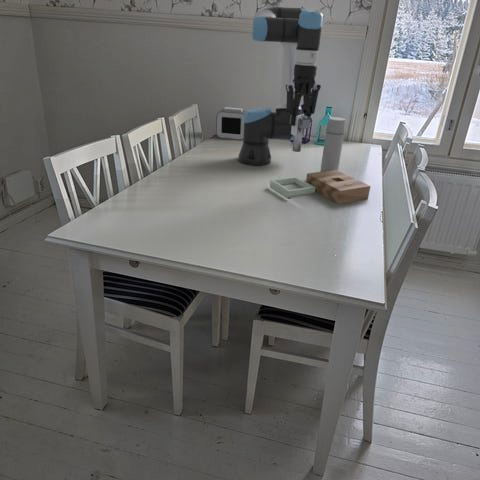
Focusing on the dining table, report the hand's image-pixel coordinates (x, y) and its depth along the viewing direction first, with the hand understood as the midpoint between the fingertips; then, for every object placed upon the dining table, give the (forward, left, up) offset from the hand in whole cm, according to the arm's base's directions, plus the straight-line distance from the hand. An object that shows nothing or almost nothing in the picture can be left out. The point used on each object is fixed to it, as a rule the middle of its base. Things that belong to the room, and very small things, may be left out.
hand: (298, 134), depth 151 cm
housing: (+9, +14, -22) cm, 27 cm away
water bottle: (-7, +23, -22) cm, 33 cm away
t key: (0, 0, -6) cm, 6 cm away
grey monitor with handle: (-85, +17, -22) cm, 90 cm away
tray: (0, 0, -22) cm, 22 cm away
